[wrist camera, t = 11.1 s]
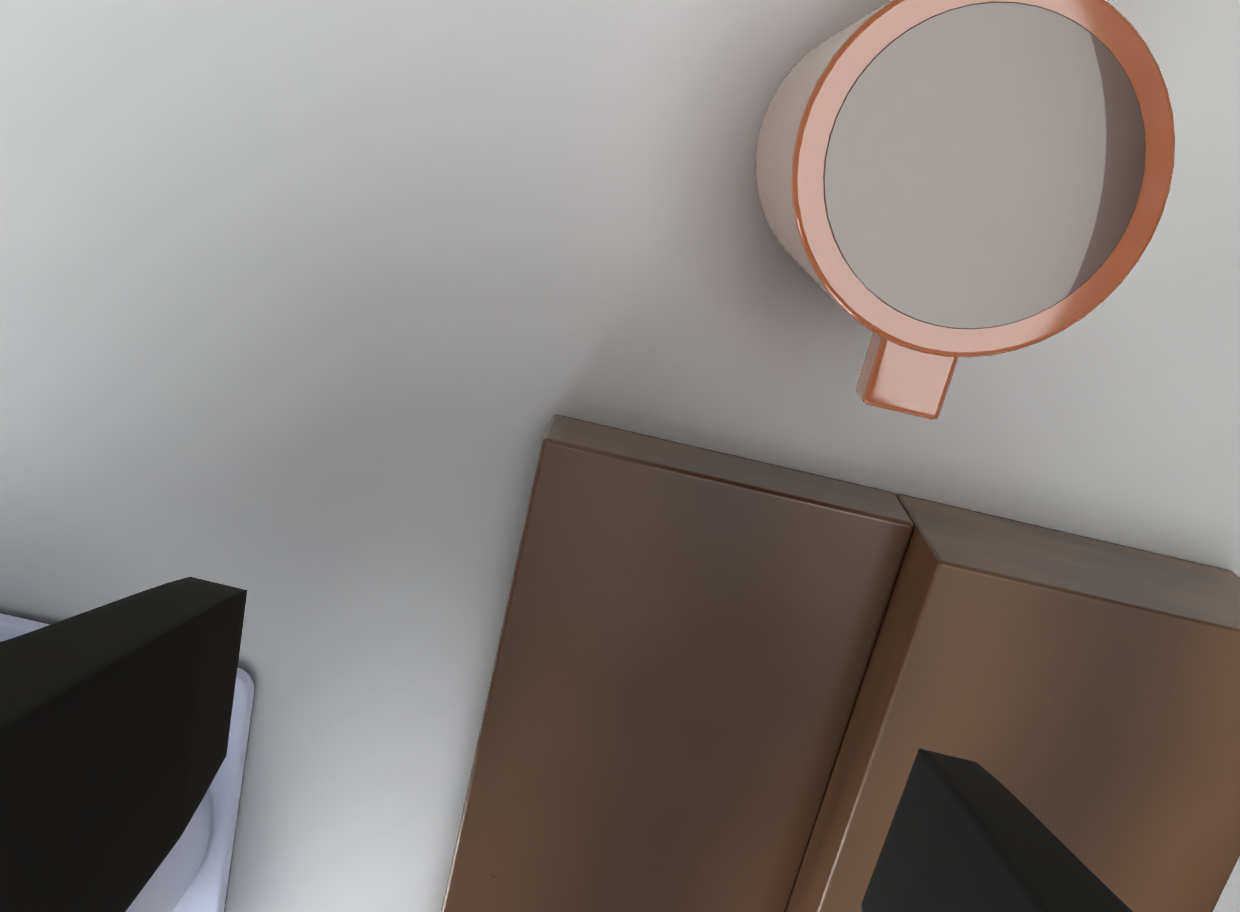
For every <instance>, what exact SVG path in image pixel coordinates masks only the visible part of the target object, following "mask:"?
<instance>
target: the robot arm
mask: <svg viewBox="0 0 1240 912" xmlns="http://www.w3.org/2000/svg"><path fill="white" fill-rule="evenodd" d="M246 595H247V590H243V589H239V588H235V587H231V586H226V585H222V584H218V583H214V582H209V581H205V580H201V579H197V578H192V577H188V578H184V579H181V580H177V581H173V582H170V583H167V584H163V585H160V586H157V587H154V588H151V589H148V590H146V591H143V592H140V593H137V594H134V595H131V596H129V597H126V598H123V599H120V600H118V601H115V602H112V603H109V604H107V605H104V606H101V607H98V608H96V609H93V610H90V611H87V612H85V613H82V614H79V615H76V616H73V617H71V618H68V619H65V620H62V621H59V622H57V623H54V624H51V625H50V624H46V623H42V622H37V621H33V620H28V619H24V618H19V617H15V616H10V615H6V614H2V613H0V912H224V908H225V901H226V894H227V887H228V879H229V872H230V865H231V857H232V850H233V843H234V836H235V828H236V821H237V814H238V807H239V799H240V792H241V785H242V778H243V770H244V763H245V756H246V749H247V741H248V734H249V727H250V719H251V712H252V705H253V698H254V683H253V681H252V679H251V677H250V675H249V674H248V673H246V672H245V671H244V670H243V669H241V668H238V659H239V651H240V643H241V635H242V627H243V619H244V611H245V603H246ZM861 906H862V912H1133V911H1132V910H1131V909H1130V908H1129V907H1128V906H1127V905H1126V904H1125V903H1124V902H1122V901H1121V900H1120V899H1119V898H1118V897H1117V896H1116V895H1115V894H1114V893H1113V892H1112V891H1111V890H1110V889H1109V888H1108V887H1107V886H1106V885H1105V884H1104V883H1103V882H1102V881H1101V880H1100V879H1099V878H1098V877H1097V876H1096V875H1095V874H1093V873H1092V872H1091V871H1090V870H1089V869H1088V868H1087V867H1086V866H1085V865H1084V864H1083V863H1082V862H1081V861H1080V860H1079V859H1078V858H1077V857H1076V856H1075V855H1074V854H1073V853H1072V852H1071V851H1070V850H1069V849H1068V848H1067V847H1066V846H1065V845H1064V844H1063V843H1062V842H1061V841H1060V840H1059V839H1058V838H1057V837H1056V836H1055V835H1054V834H1053V833H1052V832H1051V831H1050V830H1049V829H1048V828H1047V827H1046V826H1045V825H1044V824H1043V823H1042V822H1041V821H1040V820H1039V819H1038V818H1037V817H1036V816H1035V815H1034V814H1033V813H1032V812H1031V811H1030V810H1029V809H1028V808H1027V807H1026V806H1025V805H1024V804H1022V803H1021V802H1020V801H1019V800H1018V799H1017V798H1016V797H1015V796H1014V795H1013V794H1012V793H1011V792H1010V791H1009V790H1008V789H1007V788H1006V787H1005V786H1004V785H1003V784H1001V783H1000V782H999V781H998V780H997V779H996V778H995V777H994V776H993V775H991V774H990V773H989V772H988V771H987V770H985V769H984V768H983V767H982V766H981V765H979V764H978V763H977V762H975V761H970V760H966V759H962V758H958V757H953V756H949V755H945V754H941V753H936V752H932V751H928V750H924V749H919V750H918V752H917V755H916V758H915V761H914V763H913V766H912V769H911V771H910V774H909V777H908V779H907V782H906V785H905V788H904V790H903V793H902V796H901V798H900V801H899V804H898V806H897V809H896V812H895V815H894V817H893V820H892V823H891V825H890V828H889V831H888V833H887V836H886V839H885V842H884V844H883V847H882V850H881V852H880V855H879V858H878V860H877V863H876V866H875V869H874V871H873V874H872V877H871V879H870V882H869V885H868V887H867V890H866V893H865V895H864V898H863V901H862V904H861Z"/></svg>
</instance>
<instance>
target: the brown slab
mask: <svg viewBox="0 0 1240 912" xmlns="http://www.w3.org/2000/svg"><path fill="white" fill-rule="evenodd" d="M919 749H924V750H928V751H932V752H936V753H941V754H945V755H949V756H953V757H958V758H962V759H966V760H970V761H975V762H977V763H978V764H979V765H981V766H982V767H983V768H984V769H985V770H987V771H988V772H989V773H990V774H991V775H993V776H994V777H995V778H996V779H997V780H998V781H999V782H1000V783H1001V784H1003V785H1004V786H1005V787H1006V788H1007V789H1008V790H1009V791H1010V792H1011V793H1012V794H1013V795H1014V796H1015V797H1016V798H1017V799H1018V800H1019V801H1020V802H1021V803H1022V804H1024V805H1025V806H1026V807H1027V808H1028V809H1029V810H1030V811H1031V812H1032V813H1033V814H1034V815H1035V816H1036V817H1037V818H1038V819H1039V820H1040V821H1041V822H1042V823H1043V824H1044V825H1045V826H1046V827H1047V828H1048V829H1049V830H1050V831H1051V832H1052V833H1053V834H1054V835H1055V836H1056V837H1057V838H1058V839H1059V840H1060V841H1061V842H1062V843H1063V844H1064V845H1065V846H1066V847H1067V848H1068V849H1069V850H1070V851H1071V852H1072V853H1073V854H1074V855H1075V856H1076V857H1077V858H1078V859H1079V860H1080V861H1081V862H1082V863H1083V864H1084V865H1085V866H1086V867H1087V868H1088V869H1089V870H1090V871H1091V872H1092V873H1093V874H1095V875H1096V876H1097V877H1098V878H1099V879H1100V880H1101V881H1102V882H1103V883H1104V884H1105V885H1106V886H1107V887H1108V888H1109V889H1110V890H1111V891H1112V892H1113V893H1114V894H1115V895H1116V896H1117V897H1118V898H1119V899H1120V900H1121V901H1122V902H1124V903H1125V904H1126V905H1127V906H1128V907H1129V908H1130V909H1131V910H1132V911H1133V912H1213V910H1214V908H1215V905H1216V903H1217V901H1218V899H1219V897H1220V895H1221V893H1222V891H1223V889H1224V887H1225V885H1226V883H1227V881H1228V879H1229V877H1230V875H1231V873H1232V871H1233V869H1234V866H1235V864H1236V862H1237V860H1238V858H1239V856H1240V577H1239V576H1237V575H1236V574H1235V573H1233V572H1232V571H1228V570H1223V569H1219V568H1215V567H1210V566H1206V565H1202V564H1197V563H1193V562H1189V561H1184V560H1180V559H1176V558H1172V557H1167V556H1163V555H1159V554H1154V553H1150V552H1146V551H1141V550H1137V549H1133V548H1128V547H1124V546H1120V545H1115V544H1111V543H1107V542H1103V541H1098V540H1094V539H1090V538H1085V537H1081V536H1077V535H1072V534H1068V533H1064V532H1059V531H1055V530H1051V529H1047V528H1042V527H1038V526H1034V525H1029V524H1025V523H1021V522H1016V521H1012V520H1008V519H1003V518H999V517H995V516H991V515H986V514H982V513H978V512H973V511H969V510H965V509H960V508H956V507H952V506H947V505H943V504H939V503H935V502H930V501H926V500H922V499H917V498H913V497H909V496H904V495H897V497H896V495H895V494H893V493H891V492H886V491H882V490H878V489H873V488H869V487H865V486H861V485H856V484H852V483H848V482H843V481H839V480H835V479H830V478H826V477H822V476H817V475H813V474H809V473H804V472H800V471H796V470H792V469H787V468H783V467H779V466H774V465H770V464H766V463H761V462H757V461H753V460H748V459H744V458H740V457H736V456H731V455H727V454H723V453H718V452H714V451H710V450H705V449H701V448H697V447H692V446H688V445H684V444H680V443H675V442H671V441H667V440H662V439H658V438H654V437H649V436H645V435H641V434H636V433H632V432H628V431H624V430H619V429H615V428H611V427H606V426H602V425H598V424H593V423H589V422H585V421H580V420H576V419H572V418H567V417H563V416H559V415H555V416H553V417H552V419H551V421H550V423H549V426H548V428H547V431H546V433H545V435H544V438H543V440H542V444H541V448H540V453H539V458H538V462H537V467H536V472H535V476H534V481H533V486H532V490H531V495H530V500H529V504H528V509H527V514H526V518H525V523H524V528H523V532H522V537H521V542H520V546H519V551H518V556H517V560H516V565H515V570H514V574H513V579H512V584H511V588H510V593H509V598H508V602H507V607H506V612H505V616H504V621H503V626H502V630H501V635H500V640H499V644H498V649H497V654H496V658H495V663H494V668H493V672H492V677H491V682H490V686H489V691H488V696H487V700H486V705H485V710H484V714H483V719H482V724H481V728H480V733H479V738H478V742H477V747H476V752H475V756H474V761H473V766H472V770H471V775H470V780H469V784H468V789H467V794H466V798H465V803H464V808H463V812H462V817H461V822H460V826H459V831H458V836H457V840H456V845H455V850H454V854H453V859H452V864H451V868H450V873H449V878H448V882H447V887H446V892H445V896H444V901H443V906H442V910H441V912H862V906H861V904H862V901H863V898H864V895H865V893H866V890H867V887H868V885H869V882H870V879H871V877H872V874H873V871H874V869H875V866H876V863H877V860H878V858H879V855H880V852H881V850H882V847H883V844H884V842H885V839H886V836H887V833H888V831H889V828H890V825H891V823H892V820H893V817H894V815H895V812H896V809H897V806H898V804H899V801H900V798H901V796H902V793H903V790H904V788H905V785H906V782H907V779H908V777H909V774H910V771H911V769H912V766H913V763H914V761H915V758H916V755H917V752H918V750H919Z"/></svg>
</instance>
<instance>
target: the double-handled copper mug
mask: <svg viewBox="0 0 1240 912" xmlns="http://www.w3.org/2000/svg"><path fill="white" fill-rule="evenodd" d="M1174 151H1175V134H1174V122H1173V113H1172V108H1171V104H1170V99H1169V95H1168V90H1167V87H1166V85H1165V82H1164V79H1163V77H1162V74H1161V71H1160V69H1159V66H1158V64H1157V62H1156V60H1155V58H1154V57H1153V55H1152V53H1151V51H1150V49H1149V48H1148V46H1147V44H1146V42H1145V41H1144V40H1143V39H1142V37H1141V36H1140V35H1139V33H1138V32H1137V31H1136V29H1135V28H1134V27H1133V25H1132V24H1131V23H1130V22H1129V21H1128V20H1127V19H1126V18H1125V17H1124V16H1123V15H1122V14H1121V13H1120V12H1119V11H1118V10H1117V9H1116V8H1115V7H1113V6H1112V5H1111V4H1110V3H1108V2H1107V1H1105V0H891V1H889V2H888V3H886V4H884V5H883V6H881V7H879V8H878V9H876V10H874V11H873V12H871V13H869V14H868V15H866V16H864V17H863V18H861V19H859V20H858V21H856V22H855V23H853V24H851V25H850V26H848V27H846V28H845V29H843V30H841V31H840V32H838V33H836V34H835V35H833V36H831V37H830V38H828V39H826V40H825V41H823V42H822V43H821V44H819V45H818V46H817V47H815V48H814V49H813V50H811V51H810V52H809V53H808V54H807V55H806V56H804V57H803V58H802V59H801V60H800V61H799V62H798V63H797V64H796V65H795V66H794V68H793V69H792V70H791V71H790V72H789V74H788V75H787V76H786V77H785V79H784V80H783V81H782V83H781V85H780V86H779V88H778V89H777V91H776V93H775V94H774V96H773V98H772V100H771V102H770V104H769V107H768V109H767V111H766V113H765V116H764V119H763V122H762V126H761V129H760V133H759V138H758V143H757V149H756V164H755V168H756V184H757V189H758V194H759V199H760V203H761V206H762V209H763V212H764V215H765V218H766V220H767V222H768V224H769V226H770V228H771V230H772V232H773V234H774V235H775V237H776V238H777V240H778V241H779V243H780V244H781V246H782V247H783V248H784V249H785V250H786V252H787V253H788V254H789V255H790V256H791V257H792V258H793V259H794V260H795V261H796V262H797V263H798V264H799V265H800V266H801V267H802V269H803V270H804V271H805V272H806V273H807V274H808V275H809V276H810V277H811V278H812V279H813V280H814V281H815V282H816V283H817V284H818V285H819V286H820V287H821V288H822V289H823V290H824V291H825V292H826V293H827V294H828V295H829V296H830V297H831V298H832V299H833V300H834V301H835V302H836V303H837V304H838V305H839V306H840V307H841V308H842V309H843V310H844V311H846V312H847V313H848V314H849V315H850V316H851V317H853V318H854V319H855V320H856V321H857V322H859V323H860V324H861V325H863V326H864V327H866V328H867V329H869V330H870V331H872V332H873V334H872V338H871V341H870V344H869V347H868V351H867V354H866V357H865V361H864V364H863V367H862V370H861V374H860V377H859V380H858V383H857V387H856V392H857V394H858V395H859V397H860V398H861V400H862V401H863V402H864V403H866V404H867V405H871V406H876V407H880V408H884V409H889V410H893V411H897V412H901V413H906V414H910V415H914V416H918V417H923V418H927V419H931V420H932V419H937V418H938V416H939V415H940V412H941V409H942V406H943V403H944V400H945V397H946V394H947V391H948V388H949V385H950V382H951V379H952V376H953V373H954V370H955V367H956V364H957V361H958V358H959V357H979V356H990V355H996V354H1001V353H1006V352H1010V351H1015V350H1018V349H1021V348H1024V347H1027V346H1030V345H1033V344H1036V343H1039V342H1041V341H1043V340H1045V339H1047V338H1049V337H1051V336H1053V335H1055V334H1057V333H1059V332H1062V331H1063V330H1065V329H1066V328H1068V327H1070V326H1071V325H1073V324H1074V323H1076V322H1077V321H1079V320H1081V319H1082V318H1084V317H1085V316H1086V315H1087V314H1089V313H1090V312H1091V311H1092V310H1093V309H1095V308H1096V307H1097V306H1098V305H1100V304H1101V303H1102V302H1103V301H1104V300H1105V299H1106V298H1107V297H1108V296H1109V295H1110V294H1111V293H1112V292H1113V291H1114V290H1115V289H1116V288H1117V287H1118V286H1119V285H1120V284H1121V283H1122V282H1123V280H1124V279H1125V278H1126V276H1127V275H1128V274H1129V272H1130V271H1131V270H1132V269H1133V267H1134V266H1135V265H1136V263H1137V262H1138V260H1139V259H1140V257H1141V255H1142V254H1143V252H1144V250H1145V249H1146V247H1147V245H1148V244H1149V242H1150V240H1151V238H1152V236H1153V234H1154V232H1155V229H1156V227H1157V225H1158V223H1159V220H1160V218H1161V216H1162V213H1163V210H1164V206H1165V203H1166V200H1167V197H1168V193H1169V190H1170V184H1171V178H1172V173H1173V167H1174Z"/></svg>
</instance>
